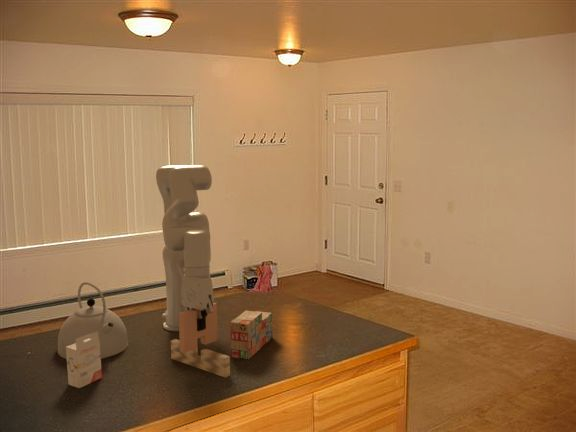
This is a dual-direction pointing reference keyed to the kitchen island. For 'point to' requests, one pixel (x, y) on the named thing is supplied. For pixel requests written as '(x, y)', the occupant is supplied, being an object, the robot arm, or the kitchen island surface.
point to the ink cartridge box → (84, 360)
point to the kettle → (94, 327)
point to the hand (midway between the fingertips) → (198, 328)
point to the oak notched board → (202, 359)
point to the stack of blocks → (250, 333)
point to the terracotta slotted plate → (189, 329)
